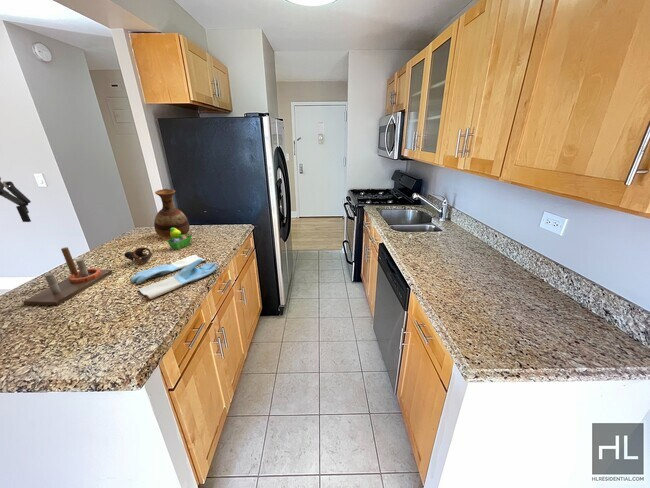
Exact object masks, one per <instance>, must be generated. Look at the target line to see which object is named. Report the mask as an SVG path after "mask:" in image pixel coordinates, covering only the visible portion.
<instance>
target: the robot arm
mask: <svg viewBox="0 0 650 488" xmlns="http://www.w3.org/2000/svg"><path fill="white" fill-rule="evenodd" d="M4 188H5V189H6V190H5V189H4ZM0 196H1V197H3V198H4V199H7V200H8V201H10V202H11V203H13V204H15V205H16V206H15V208H16V210H17V212H18V214H19V217H20V219H21V222H22V223H31V222H32V220H31V218H30V215H29V213H30V211H29V209H28V206H29V204H31V202H32V201H31V200H30V199H29V198H28V197H27V196H26V195H25V194H24V193H23V192H21V191H20V190H19V189H18V188H17V187H16V186H15V184H14V182H13V181H10V180H7V181H6V180H5V181H2V178H1V177H0Z"/></svg>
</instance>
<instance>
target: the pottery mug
mask: <svg viewBox="0 0 650 488" xmlns="http://www.w3.org/2000/svg"><path fill="white" fill-rule="evenodd" d="M144 251H147V252H148V253H144ZM153 255H154V254H153V253H152V252H151V249H150V248H148V247H146V246H145V247H144V246H140V247H136V248H135V249H133V251H125V252H124V255H123V256H124V258H126V259H128V260H130V261H131V262H134V261H137V265H141V266H142V265H143V263H146V262H147V261H149V260H151V258H152V257H153Z"/></svg>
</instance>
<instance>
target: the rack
mask: <svg viewBox="0 0 650 488" xmlns="http://www.w3.org/2000/svg"><path fill="white" fill-rule="evenodd" d="M75 262H76V265H77V268H78V271H80V273H81V275H78V276H76V277H75V278H82V277H87V276H90V275H92V274H94V273H96V272H88V271H87V269H88V268H87V265H86V263H85V260H84V259H83V258H78V259H77V260H75ZM101 272H102V273H101V274H100V275H99V276H98V277H96V278H94V279H91V280H88V281H87V280H86V281H83V282H70V281H69V279H68V277H67V278H65V279H64V280H61V281H59V282H58V281H57V279H56V277H55V275H54V273H53V272H50V273H46V274H44V275H43V276H44V278H45V281H46V283H47V285H48V287H47V288H46V289H44V290H42V291H40V292H38V293H36V294H34V295H32V296H30V297H28V298H26V299H24V300H22V302H23V304H24V305H32V306H34V305H35V306H59V305H60V304H63V303H64V302H66V301H67V300H68V299H71V298H72V297H74V296H76V295H77V294H79V293H81V292H82V291H84V290H86V289H87V288H89V287H91V286H92V285H94V284H96V283H98V282H99V281H101V280H103V279H105V278H106V277H108V276H110V275H111V274H113V270H112V269H101Z"/></svg>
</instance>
